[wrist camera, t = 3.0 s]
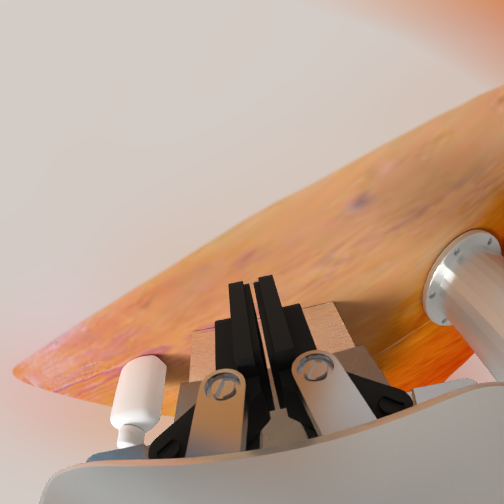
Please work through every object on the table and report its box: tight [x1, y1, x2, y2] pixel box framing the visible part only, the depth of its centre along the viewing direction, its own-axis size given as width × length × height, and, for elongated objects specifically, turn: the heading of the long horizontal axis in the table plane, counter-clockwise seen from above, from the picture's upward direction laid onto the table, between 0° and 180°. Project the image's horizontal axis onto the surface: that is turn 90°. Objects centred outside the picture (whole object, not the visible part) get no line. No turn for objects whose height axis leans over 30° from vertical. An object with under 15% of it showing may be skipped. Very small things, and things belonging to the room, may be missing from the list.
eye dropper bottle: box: [110, 355, 167, 449], centre depth 26 cm, size 4×6×12 cm
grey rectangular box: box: [189, 302, 356, 382], centre depth 29 cm, size 19×12×8 cm, turn 101°
